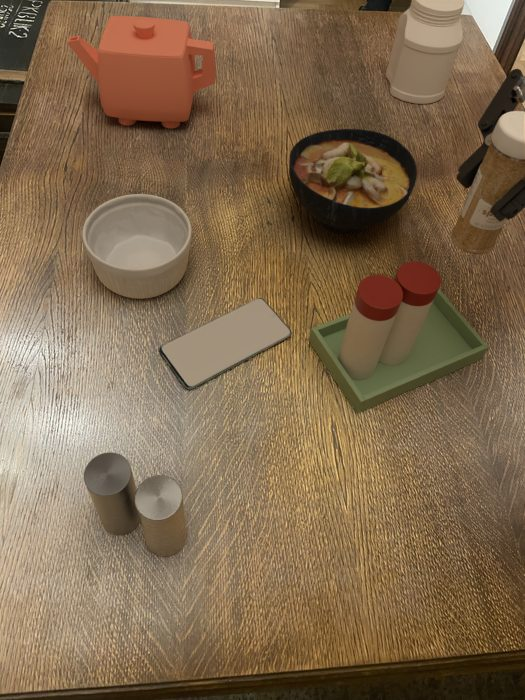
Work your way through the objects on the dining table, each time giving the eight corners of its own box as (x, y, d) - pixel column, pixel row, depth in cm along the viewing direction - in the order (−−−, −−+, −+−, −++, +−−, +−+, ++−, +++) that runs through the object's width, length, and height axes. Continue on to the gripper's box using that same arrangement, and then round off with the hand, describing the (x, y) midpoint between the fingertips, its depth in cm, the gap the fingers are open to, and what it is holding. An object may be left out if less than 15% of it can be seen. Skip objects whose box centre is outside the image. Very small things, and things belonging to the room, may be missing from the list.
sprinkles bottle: (473, 263, 60) (530, 147, 49) (440, 235, 62) (488, 119, 51) (503, 244, 62) (564, 129, 51) (470, 219, 64) (522, 102, 53)
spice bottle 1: (382, 373, 71) (411, 301, 61) (348, 384, 70) (371, 314, 59) (363, 343, 74) (389, 269, 63) (330, 354, 72) (350, 281, 62)
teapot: (73, 127, 95) (53, 37, 84) (88, 82, 103) (72, -6, 91) (212, 137, 96) (212, 49, 85) (218, 92, 104) (218, 6, 92)
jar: (383, 67, 112) (404, -21, 100) (434, 70, 112) (460, -17, 100) (392, 103, 105) (415, 14, 93) (446, 105, 106) (476, 17, 94)
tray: (428, 295, 80) (434, 282, 77) (481, 359, 74) (489, 346, 72) (308, 340, 74) (311, 327, 72) (356, 413, 68) (361, 401, 66)
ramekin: (200, 301, 76) (199, 263, 71) (93, 314, 74) (83, 275, 68) (185, 229, 84) (183, 189, 78) (88, 238, 81) (79, 198, 76)
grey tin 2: (192, 547, 58) (188, 510, 50) (152, 563, 57) (142, 527, 49) (179, 510, 61) (173, 468, 52) (140, 524, 59) (128, 484, 51)
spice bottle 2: (415, 359, 73) (449, 287, 62) (382, 370, 71) (411, 299, 61) (396, 330, 75) (426, 256, 64) (363, 340, 74) (389, 267, 63)
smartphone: (156, 347, 71) (261, 296, 77) (157, 350, 71) (260, 298, 77) (187, 390, 68) (294, 333, 74) (187, 392, 68) (293, 335, 74)
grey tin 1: (147, 526, 59) (136, 486, 51) (107, 541, 58) (89, 502, 50) (136, 490, 61) (124, 446, 53) (96, 504, 60) (78, 461, 52)
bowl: (424, 231, 87) (446, 174, 79) (326, 272, 81) (339, 215, 73) (355, 163, 95) (368, 105, 87) (261, 196, 89) (266, 137, 81)
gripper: (571, -21, 51) (416, 138, 57) (712, 65, 44) (518, 236, 50) (585, 32, 57) (444, 170, 63) (711, 115, 50) (538, 262, 56)
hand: (478, 199), depth 56 cm, fingers closed on sprinkles bottle, 4 cm apart
